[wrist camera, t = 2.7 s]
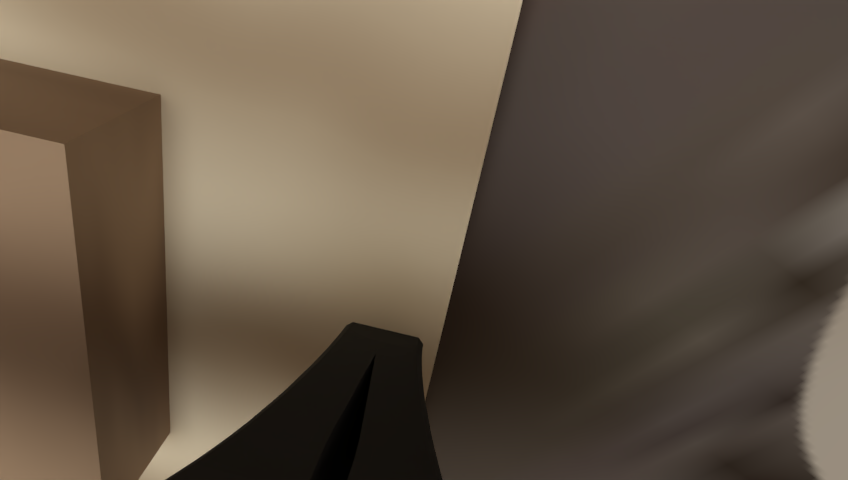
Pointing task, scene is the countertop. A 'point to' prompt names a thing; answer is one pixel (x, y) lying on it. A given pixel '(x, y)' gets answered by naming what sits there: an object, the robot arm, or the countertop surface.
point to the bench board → (291, 173)
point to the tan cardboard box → (80, 278)
